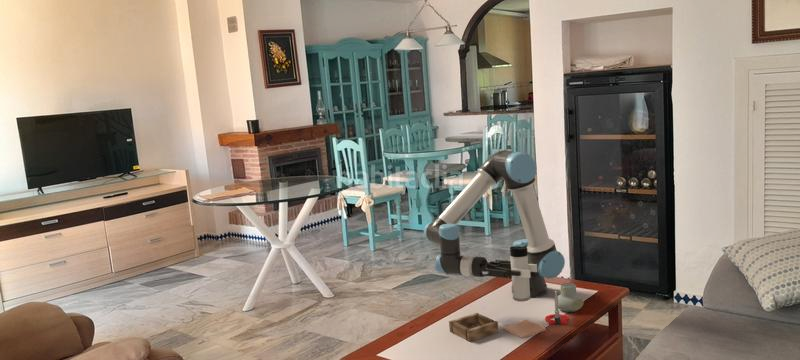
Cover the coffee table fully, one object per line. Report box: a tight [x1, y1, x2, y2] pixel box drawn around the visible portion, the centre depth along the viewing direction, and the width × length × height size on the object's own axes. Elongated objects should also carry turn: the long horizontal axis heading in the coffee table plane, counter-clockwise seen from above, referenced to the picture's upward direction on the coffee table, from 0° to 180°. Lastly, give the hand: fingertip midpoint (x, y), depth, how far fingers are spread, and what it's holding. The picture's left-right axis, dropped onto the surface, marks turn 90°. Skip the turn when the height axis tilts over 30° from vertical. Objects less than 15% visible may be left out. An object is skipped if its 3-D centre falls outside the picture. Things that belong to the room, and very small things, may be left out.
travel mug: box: [509, 245, 531, 303], centre depth 234 cm, size 6×7×20 cm
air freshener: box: [557, 282, 584, 313], centre depth 253 cm, size 11×8×10 cm
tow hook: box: [544, 290, 569, 325], centre depth 243 cm, size 8×13×9 cm
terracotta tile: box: [502, 319, 547, 339], centre depth 237 cm, size 11×11×1 cm
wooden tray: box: [448, 312, 499, 343], centre depth 240 cm, size 13×13×4 cm
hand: (533, 271), depth 231 cm, fingers closed on travel mug, 6 cm apart
